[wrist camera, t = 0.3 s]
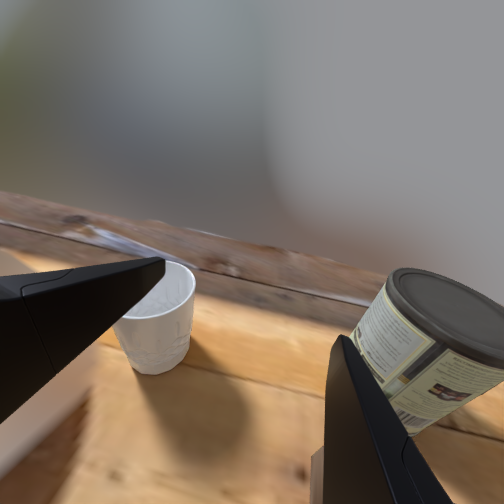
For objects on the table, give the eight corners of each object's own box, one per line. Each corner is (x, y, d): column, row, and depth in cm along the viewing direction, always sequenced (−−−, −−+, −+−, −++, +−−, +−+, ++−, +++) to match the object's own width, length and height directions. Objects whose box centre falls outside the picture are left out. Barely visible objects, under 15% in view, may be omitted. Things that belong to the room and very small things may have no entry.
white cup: (207, 337, 26) (211, 278, 21) (158, 397, 20) (147, 336, 14) (162, 310, 28) (155, 251, 23) (105, 357, 22) (78, 291, 17)
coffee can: (378, 340, 30) (439, 265, 23) (446, 425, 22) (579, 353, 14) (318, 348, 27) (366, 266, 20) (371, 450, 19) (488, 375, 12)
